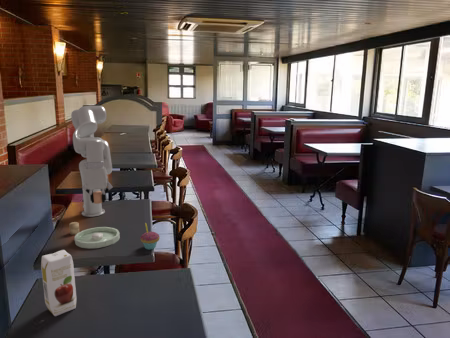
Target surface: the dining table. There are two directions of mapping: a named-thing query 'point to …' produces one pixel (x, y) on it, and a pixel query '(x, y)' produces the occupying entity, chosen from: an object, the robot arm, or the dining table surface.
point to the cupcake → (149, 239)
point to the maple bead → (74, 228)
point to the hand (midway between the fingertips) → (98, 201)
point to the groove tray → (97, 237)
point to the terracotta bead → (97, 197)
